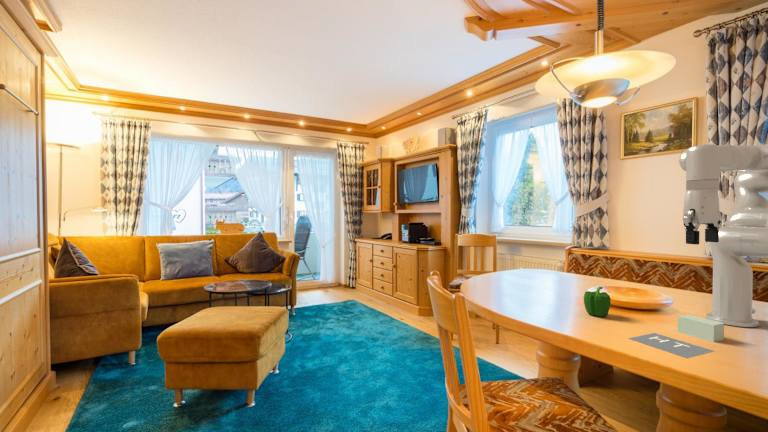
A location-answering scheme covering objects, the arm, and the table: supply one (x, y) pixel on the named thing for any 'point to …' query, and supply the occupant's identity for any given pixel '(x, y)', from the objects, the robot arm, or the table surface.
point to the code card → (671, 345)
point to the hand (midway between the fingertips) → (702, 243)
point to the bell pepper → (597, 303)
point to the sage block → (701, 328)
